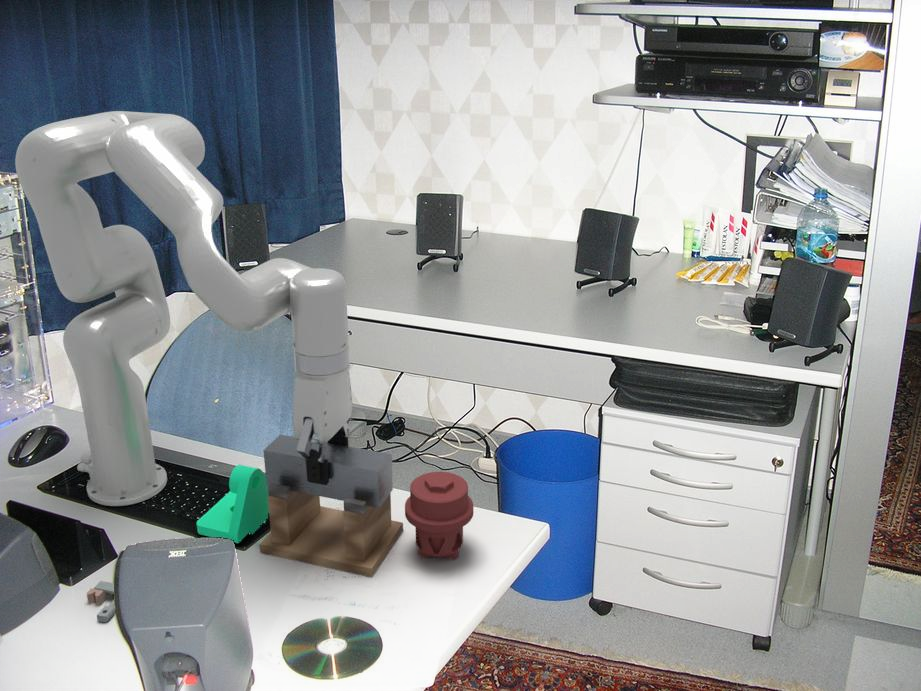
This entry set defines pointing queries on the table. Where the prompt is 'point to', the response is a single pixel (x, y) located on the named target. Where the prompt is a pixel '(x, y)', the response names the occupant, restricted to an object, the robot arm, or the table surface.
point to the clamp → (102, 599)
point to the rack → (329, 531)
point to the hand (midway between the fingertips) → (328, 469)
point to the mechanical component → (439, 513)
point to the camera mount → (238, 506)
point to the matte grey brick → (331, 471)
